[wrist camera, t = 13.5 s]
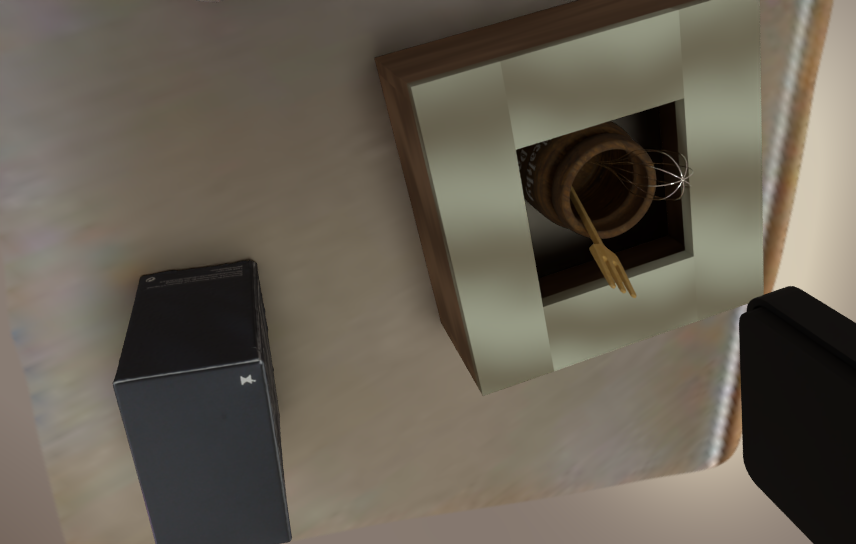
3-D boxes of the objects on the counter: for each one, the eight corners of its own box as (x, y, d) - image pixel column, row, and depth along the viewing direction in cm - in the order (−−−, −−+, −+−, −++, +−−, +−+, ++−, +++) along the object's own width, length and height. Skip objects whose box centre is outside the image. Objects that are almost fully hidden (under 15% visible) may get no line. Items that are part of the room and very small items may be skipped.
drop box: (374, 57, 37) (411, 87, 30) (662, -24, 39) (759, -14, 32) (441, 322, 44) (483, 396, 37) (680, 242, 47) (763, 298, 39)
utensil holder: (620, 128, 42) (754, 194, 32) (562, 222, 44) (671, 316, 33) (538, 80, 40) (655, 135, 29) (481, 182, 41) (571, 269, 31)
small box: (130, 273, 39) (102, 381, 29) (256, 256, 40) (268, 353, 31) (168, 437, 43) (155, 575, 34) (281, 416, 44) (298, 543, 35)
